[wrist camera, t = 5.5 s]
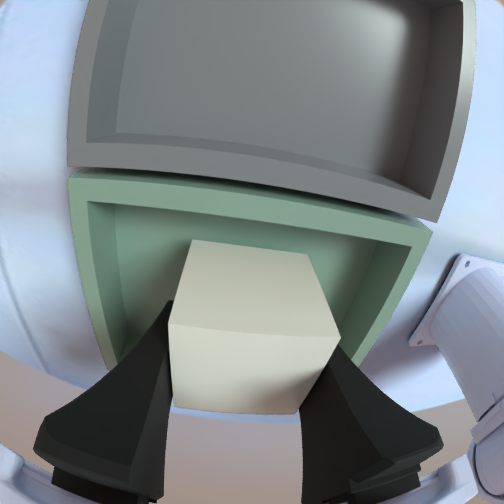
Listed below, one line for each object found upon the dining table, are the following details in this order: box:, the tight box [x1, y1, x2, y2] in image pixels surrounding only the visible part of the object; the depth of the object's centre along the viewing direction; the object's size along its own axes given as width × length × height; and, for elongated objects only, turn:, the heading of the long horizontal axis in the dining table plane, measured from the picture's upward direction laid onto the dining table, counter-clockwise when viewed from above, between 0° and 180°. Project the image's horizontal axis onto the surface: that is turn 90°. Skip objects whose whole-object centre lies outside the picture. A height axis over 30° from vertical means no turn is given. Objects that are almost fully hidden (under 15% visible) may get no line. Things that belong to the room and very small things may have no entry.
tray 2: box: [68, 167, 433, 371], centre depth 12 cm, size 14×11×3 cm
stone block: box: [168, 239, 341, 415], centre depth 10 cm, size 5×5×5 cm
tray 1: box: [67, 0, 476, 223], centre depth 7 cm, size 14×11×3 cm
